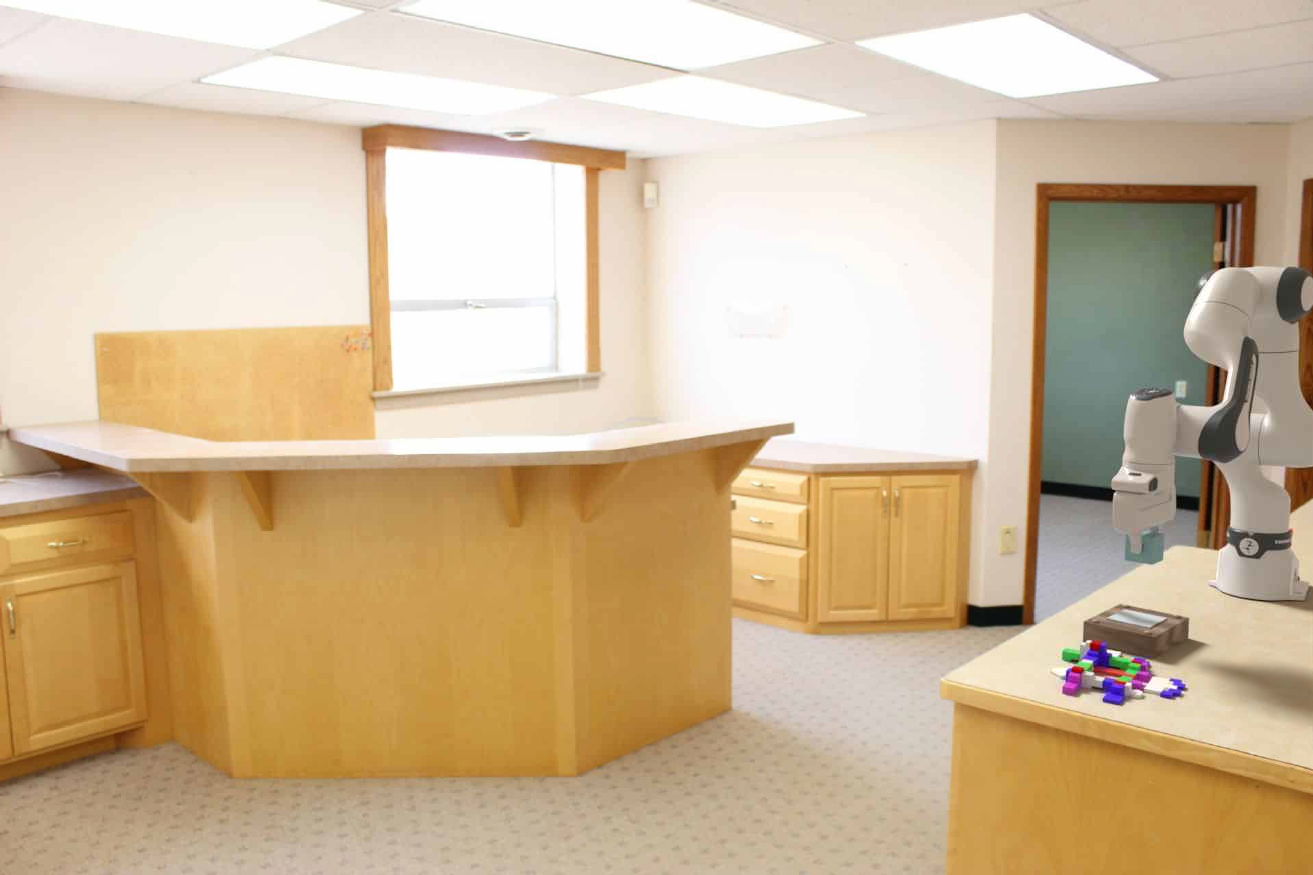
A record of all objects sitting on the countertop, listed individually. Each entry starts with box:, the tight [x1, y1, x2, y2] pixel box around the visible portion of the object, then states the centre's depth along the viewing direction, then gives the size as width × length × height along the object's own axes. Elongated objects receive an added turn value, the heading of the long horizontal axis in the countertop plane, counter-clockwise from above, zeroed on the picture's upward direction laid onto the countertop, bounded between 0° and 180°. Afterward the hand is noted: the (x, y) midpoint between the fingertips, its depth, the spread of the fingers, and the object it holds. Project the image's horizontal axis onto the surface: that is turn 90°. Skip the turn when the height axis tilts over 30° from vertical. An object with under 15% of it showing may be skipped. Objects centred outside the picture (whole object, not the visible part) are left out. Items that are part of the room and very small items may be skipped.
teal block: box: [1124, 530, 1165, 566], centre depth 195 cm, size 5×5×5 cm
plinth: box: [1082, 603, 1190, 659], centre depth 198 cm, size 16×13×4 cm
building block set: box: [1050, 640, 1186, 706], centre depth 179 cm, size 25×20×4 cm
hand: (1144, 550), depth 195 cm, fingers closed on teal block, 5 cm apart
